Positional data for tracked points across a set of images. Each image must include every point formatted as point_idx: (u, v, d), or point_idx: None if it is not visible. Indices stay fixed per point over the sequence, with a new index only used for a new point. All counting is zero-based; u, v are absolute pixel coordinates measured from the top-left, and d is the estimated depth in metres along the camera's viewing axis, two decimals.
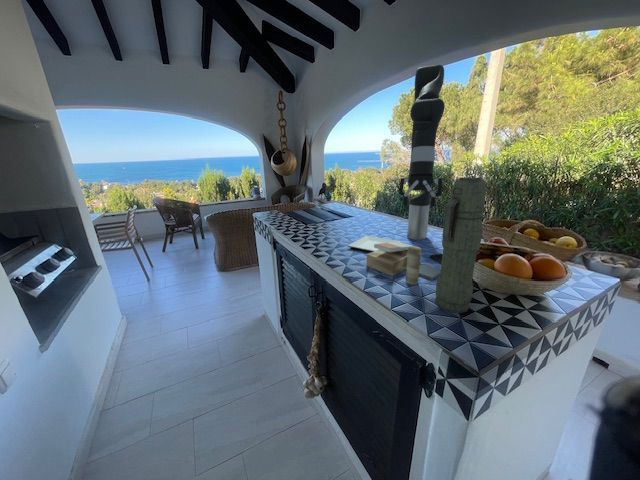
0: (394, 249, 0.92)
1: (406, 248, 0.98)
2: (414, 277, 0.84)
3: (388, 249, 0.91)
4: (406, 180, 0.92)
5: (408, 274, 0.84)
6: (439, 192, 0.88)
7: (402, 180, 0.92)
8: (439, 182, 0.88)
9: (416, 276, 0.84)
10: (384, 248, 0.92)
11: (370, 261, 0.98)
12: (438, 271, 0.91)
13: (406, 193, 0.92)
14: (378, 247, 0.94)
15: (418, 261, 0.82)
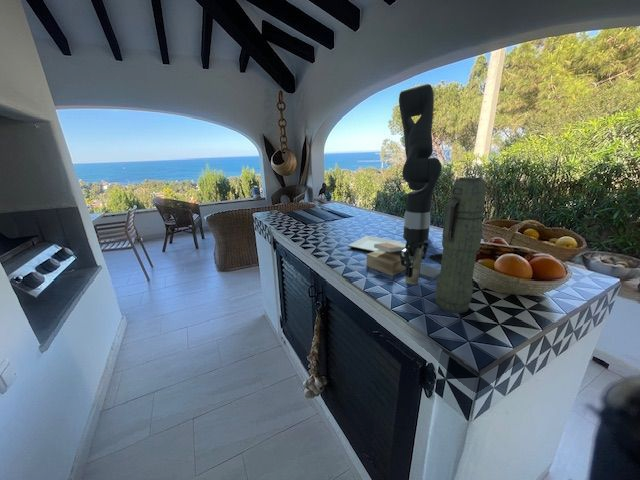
0: (394, 249, 0.92)
1: None
2: (414, 277, 0.84)
3: (388, 249, 0.91)
4: (407, 250, 0.79)
5: None
6: (424, 256, 0.85)
7: (407, 254, 0.78)
8: (426, 246, 0.85)
9: (416, 276, 0.84)
10: (384, 248, 0.92)
11: (370, 261, 0.98)
12: (438, 271, 0.91)
13: (412, 264, 0.81)
14: (378, 247, 0.94)
15: (418, 261, 0.82)
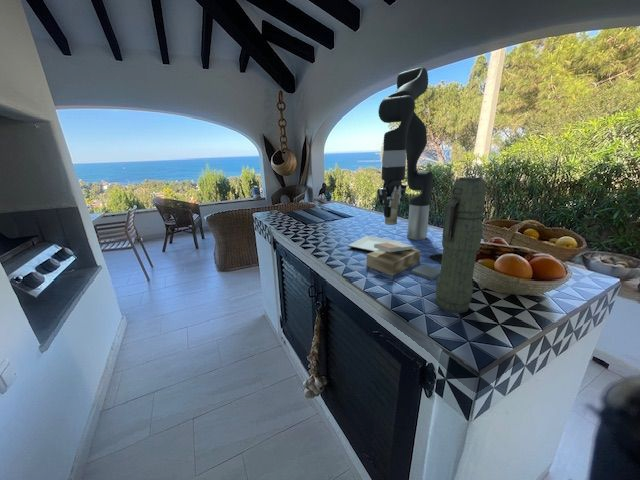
0: (394, 249, 0.92)
1: (406, 248, 0.98)
2: (393, 217, 0.88)
3: (388, 249, 0.91)
4: None
5: None
6: (402, 199, 0.89)
7: (385, 191, 0.82)
8: (404, 189, 0.89)
9: (394, 216, 0.88)
10: (384, 248, 0.92)
11: (370, 261, 0.98)
12: (438, 271, 0.91)
13: (390, 203, 0.86)
14: (378, 247, 0.94)
15: (396, 200, 0.86)
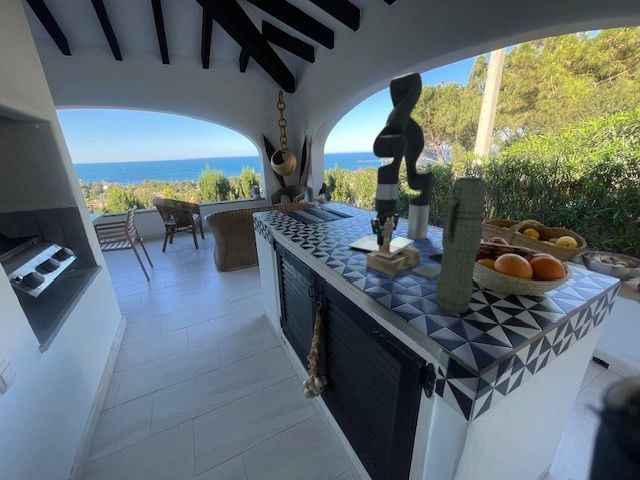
0: (394, 253, 0.93)
1: (406, 246, 0.97)
2: (386, 245, 0.92)
3: (387, 255, 0.92)
4: (378, 219, 0.88)
5: None
6: (395, 227, 0.94)
7: (377, 222, 0.86)
8: (397, 218, 0.93)
9: (387, 244, 0.92)
10: (383, 254, 0.93)
11: (370, 261, 0.98)
12: (438, 271, 0.91)
13: (383, 232, 0.90)
14: (378, 253, 0.95)
15: (388, 230, 0.90)
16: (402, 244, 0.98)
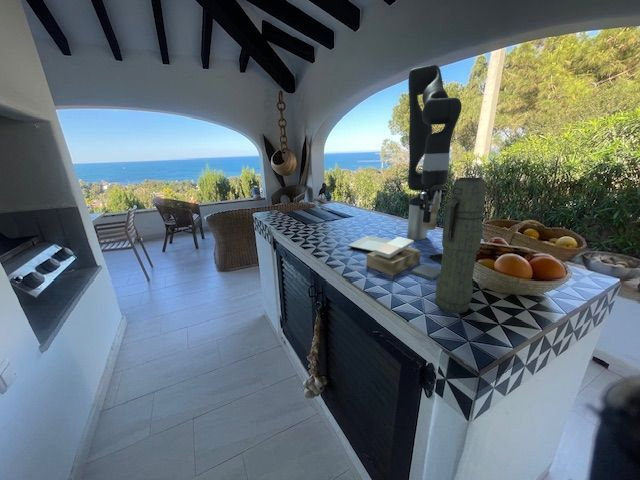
0: (394, 253, 0.93)
1: (406, 246, 0.97)
2: (432, 222, 0.85)
3: (387, 255, 0.92)
4: (426, 193, 0.80)
5: None
6: (441, 203, 0.86)
7: (426, 196, 0.79)
8: (444, 193, 0.86)
9: (434, 221, 0.85)
10: (383, 254, 0.93)
11: (370, 261, 0.98)
12: (438, 271, 0.91)
13: (430, 208, 0.83)
14: (378, 253, 0.95)
15: (437, 205, 0.83)
16: (402, 244, 0.98)
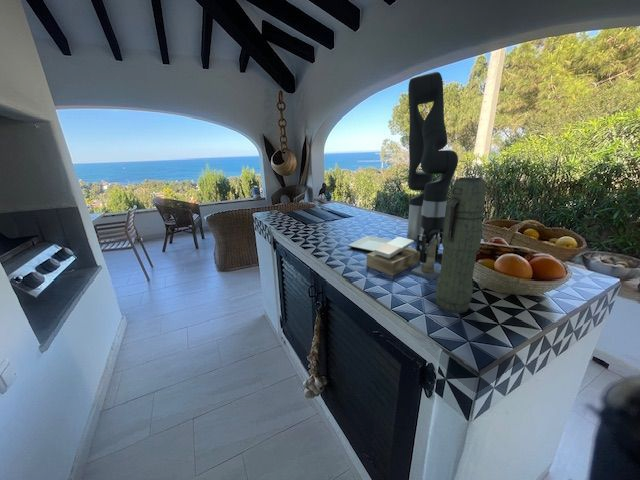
0: (394, 253, 0.93)
1: (406, 246, 0.97)
2: (430, 265, 0.89)
3: (387, 255, 0.92)
4: (425, 236, 0.84)
5: None
6: None
7: (425, 238, 0.83)
8: None
9: (432, 264, 0.89)
10: (383, 254, 0.93)
11: (370, 261, 0.98)
12: (438, 271, 0.91)
13: (427, 249, 0.86)
14: (378, 253, 0.95)
15: (434, 250, 0.88)
16: (402, 244, 0.98)
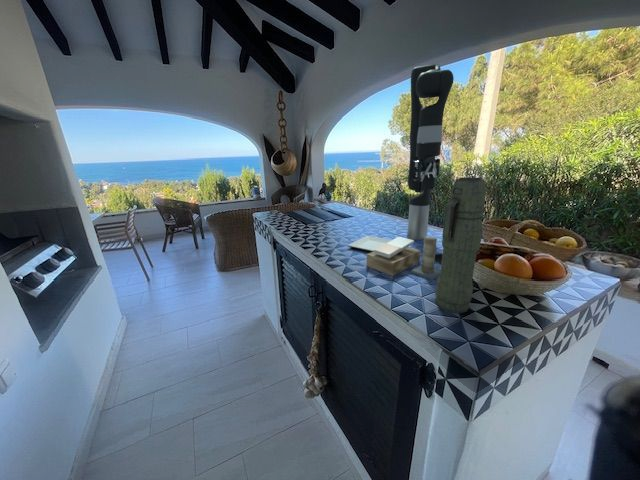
0: (394, 253, 0.93)
1: (406, 246, 0.97)
2: (430, 265, 0.89)
3: (387, 255, 0.92)
4: None
5: (424, 262, 0.90)
6: (438, 172, 0.91)
7: (421, 163, 0.82)
8: (438, 163, 0.90)
9: (432, 264, 0.89)
10: (383, 254, 0.93)
11: (370, 261, 0.98)
12: (438, 271, 0.91)
13: (422, 177, 0.85)
14: (378, 253, 0.95)
15: (434, 250, 0.88)
16: (402, 244, 0.98)
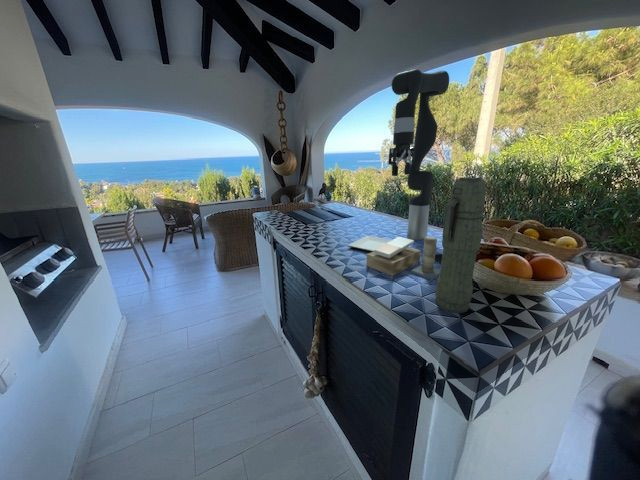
0: (394, 253, 0.93)
1: (406, 246, 0.97)
2: (430, 265, 0.89)
3: (387, 255, 0.92)
4: None
5: (424, 262, 0.90)
6: (413, 160, 1.04)
7: (395, 150, 0.95)
8: (413, 151, 1.03)
9: (432, 265, 0.89)
10: (383, 254, 0.93)
11: (370, 261, 0.98)
12: (438, 271, 0.91)
13: (397, 162, 0.98)
14: (378, 253, 0.95)
15: (434, 250, 0.88)
16: (402, 244, 0.98)
